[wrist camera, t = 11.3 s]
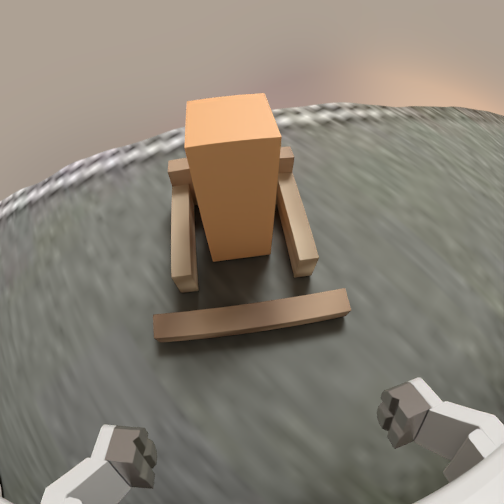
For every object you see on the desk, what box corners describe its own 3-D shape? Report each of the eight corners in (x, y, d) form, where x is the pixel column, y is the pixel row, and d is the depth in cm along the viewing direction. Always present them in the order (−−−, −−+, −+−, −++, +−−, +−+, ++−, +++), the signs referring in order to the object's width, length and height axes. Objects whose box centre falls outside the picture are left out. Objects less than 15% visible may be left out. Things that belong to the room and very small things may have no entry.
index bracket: (181, 292, 18) (164, 265, 15) (179, 196, 22) (168, 160, 19) (311, 275, 19) (324, 244, 15) (285, 183, 23) (290, 146, 20)
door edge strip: (160, 342, 17) (154, 338, 16) (159, 320, 17) (153, 314, 16) (345, 315, 17) (351, 310, 16) (340, 295, 18) (345, 288, 17)
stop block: (212, 261, 19) (184, 147, 11) (209, 215, 21) (186, 101, 13) (270, 254, 20) (281, 136, 11) (261, 209, 22) (264, 93, 13)
